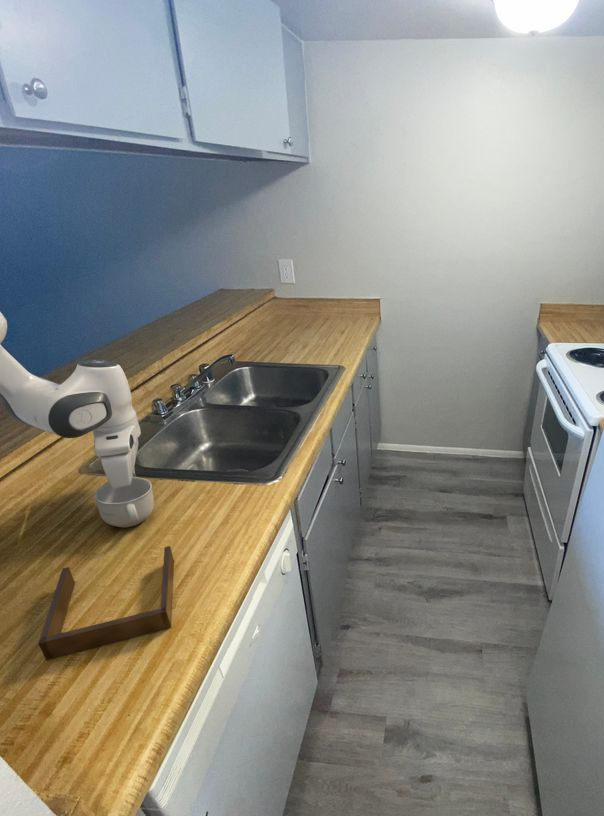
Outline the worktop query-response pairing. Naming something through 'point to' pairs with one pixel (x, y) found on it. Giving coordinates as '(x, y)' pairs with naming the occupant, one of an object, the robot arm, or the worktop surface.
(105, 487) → the teacup
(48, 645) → the dish corral
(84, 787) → the worktop surface
